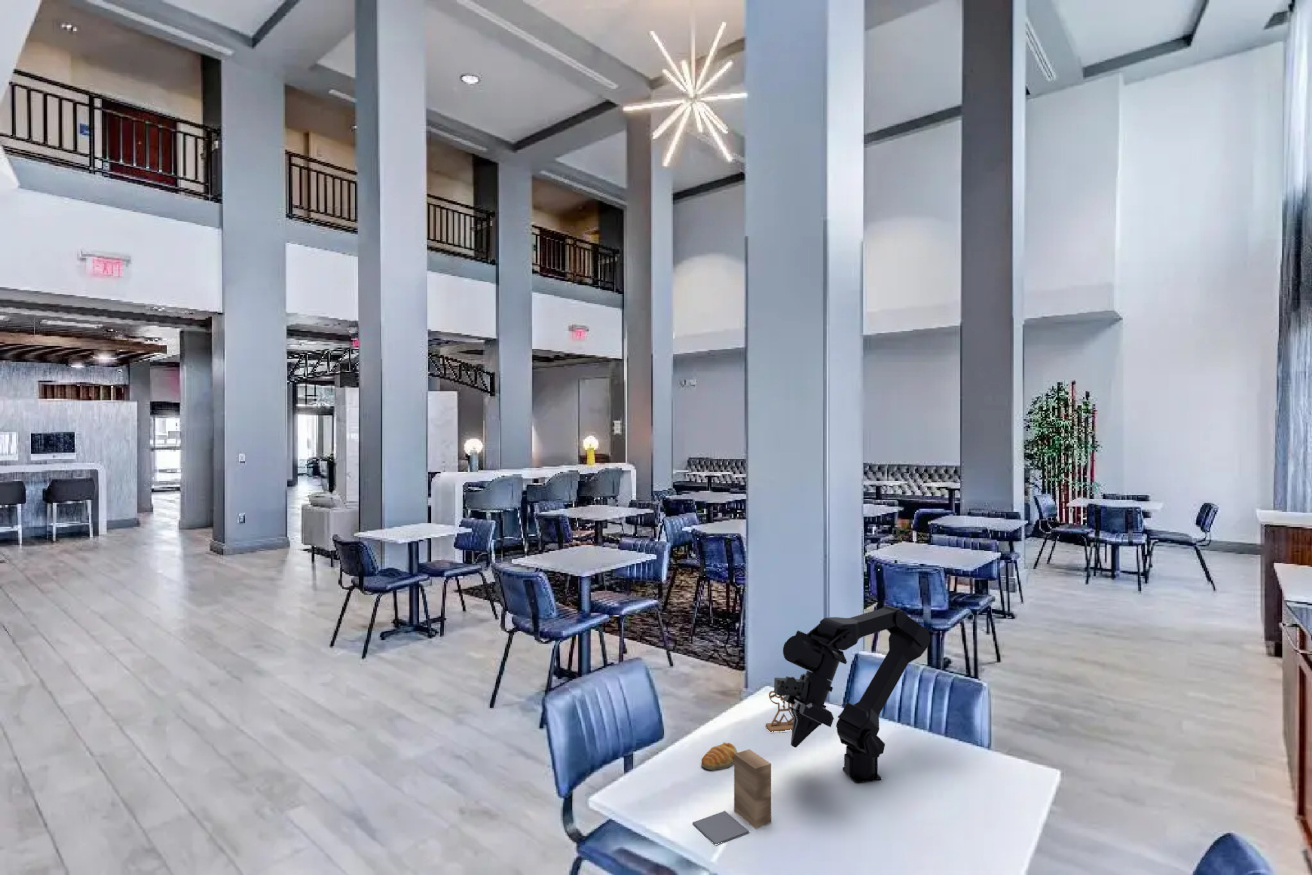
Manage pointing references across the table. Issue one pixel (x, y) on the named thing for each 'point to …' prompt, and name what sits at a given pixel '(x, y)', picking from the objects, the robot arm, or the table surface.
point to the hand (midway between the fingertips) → (793, 746)
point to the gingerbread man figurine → (781, 725)
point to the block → (752, 788)
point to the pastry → (719, 757)
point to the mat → (720, 827)
